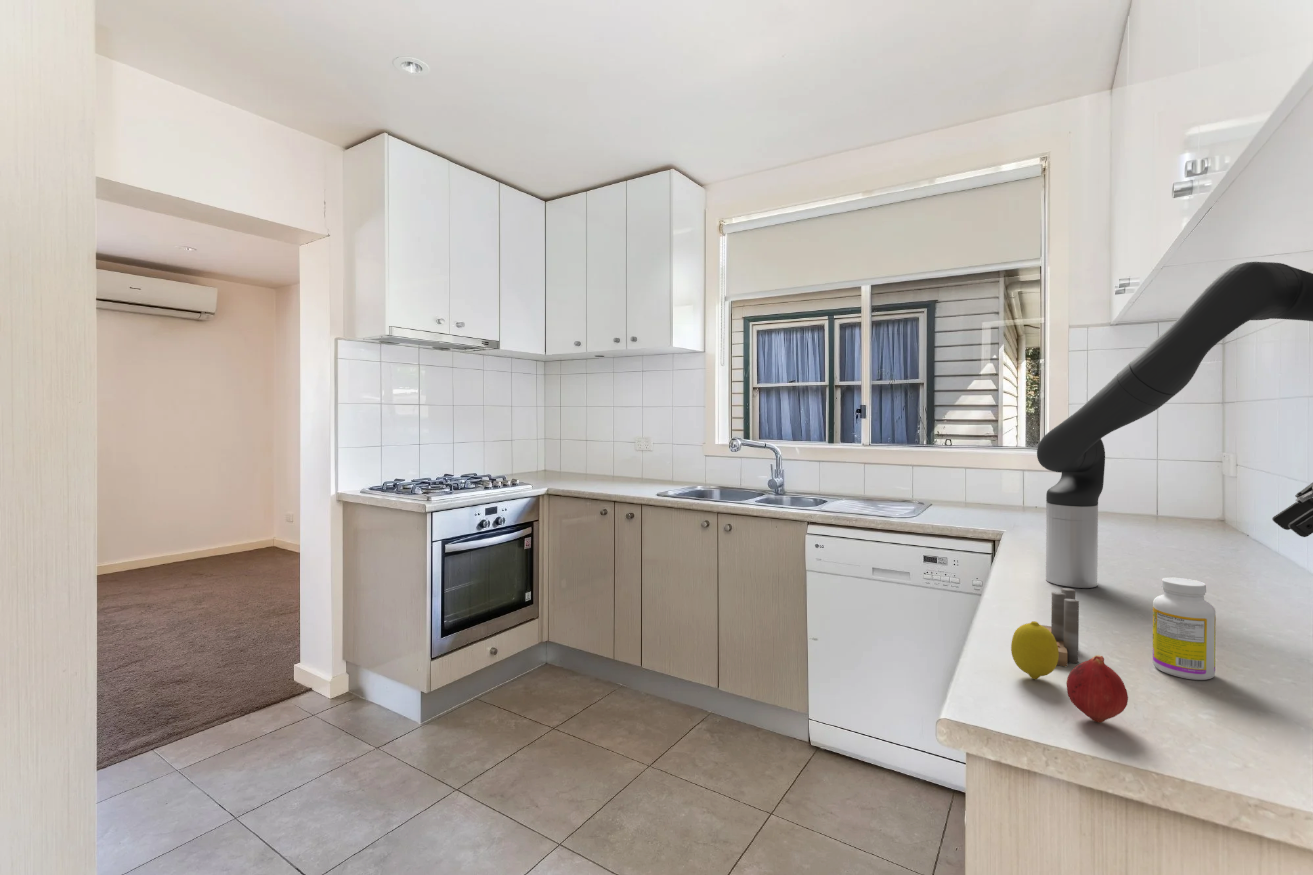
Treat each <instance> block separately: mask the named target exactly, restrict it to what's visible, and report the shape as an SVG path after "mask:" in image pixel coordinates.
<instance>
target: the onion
mask: <svg viewBox="0 0 1313 875" xmlns="http://www.w3.org/2000/svg"><path fill="white" fill-rule="evenodd" d="M1066 678H1067V679H1066V683H1065V684H1066V690H1067V691H1066V692H1067V696H1068V698H1069V700H1070V701H1071V704H1073V705H1074V707H1075V708H1076V709H1078V710H1079V711H1080V712H1082V714H1084V715H1085V716H1087V717H1089V719H1091V720H1092V721H1093V722H1095V723H1099V724H1101V723H1103V722H1105V721H1107V720H1109V719H1112V718H1115V717H1116V716H1118V715H1120V714H1121V713H1122V712H1124V710H1126V707H1127V706H1128V702H1129V696H1128V691H1127V688H1126V686H1125V684H1124V683H1125V682H1124V681H1123V679H1122V678H1121V677H1120V675H1119V674H1118V673H1117V672H1116V671H1115V670H1114V669H1112V668H1111V667H1109V666H1108V665H1107V664H1105V658H1104V655H1100V654H1097V655H1094V656H1092V657H1091V658H1089V659H1088V660H1085V661H1082V662H1081V663H1079V664H1078V665H1076V666H1075V667H1073V668H1072V669H1071V671H1070V672H1069V673H1068V676H1067V677H1066Z"/></svg>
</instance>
